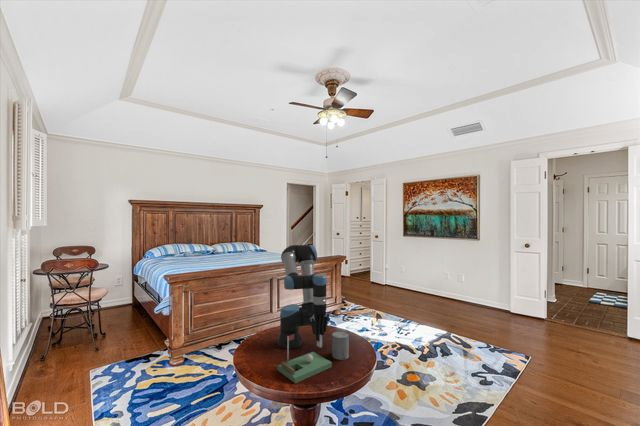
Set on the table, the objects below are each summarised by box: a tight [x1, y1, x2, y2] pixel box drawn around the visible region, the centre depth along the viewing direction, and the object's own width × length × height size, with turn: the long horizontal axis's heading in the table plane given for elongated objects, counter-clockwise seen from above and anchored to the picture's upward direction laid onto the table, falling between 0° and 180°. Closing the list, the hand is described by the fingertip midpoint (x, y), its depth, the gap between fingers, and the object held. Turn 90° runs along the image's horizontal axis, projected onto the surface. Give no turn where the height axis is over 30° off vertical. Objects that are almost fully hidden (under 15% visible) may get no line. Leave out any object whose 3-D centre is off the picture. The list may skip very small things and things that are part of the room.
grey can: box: [331, 330, 350, 361], centre depth 175 cm, size 10×10×12 cm
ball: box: [306, 353, 313, 362], centre depth 163 cm, size 4×4×4 cm
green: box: [276, 334, 333, 384], centre depth 161 cm, size 16×24×16 cm, turn 130°
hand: (319, 346), depth 167 cm, fingers closed
